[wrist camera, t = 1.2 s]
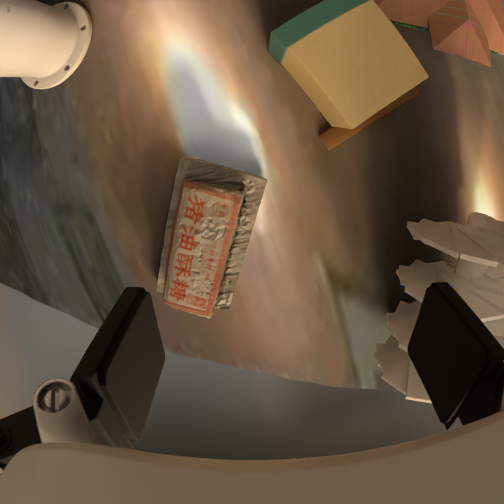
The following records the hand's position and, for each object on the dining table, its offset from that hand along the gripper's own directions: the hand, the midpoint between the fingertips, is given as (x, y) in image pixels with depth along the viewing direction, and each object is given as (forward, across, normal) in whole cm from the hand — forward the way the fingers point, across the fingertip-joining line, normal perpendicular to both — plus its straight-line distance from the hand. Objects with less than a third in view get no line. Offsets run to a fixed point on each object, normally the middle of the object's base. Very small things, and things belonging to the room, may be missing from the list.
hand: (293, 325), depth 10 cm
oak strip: (+26, -12, -8) cm, 30 cm away
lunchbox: (+26, -8, -13) cm, 30 cm away
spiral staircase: (+26, -23, +14) cm, 38 cm away
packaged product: (+26, +7, +8) cm, 29 cm away
